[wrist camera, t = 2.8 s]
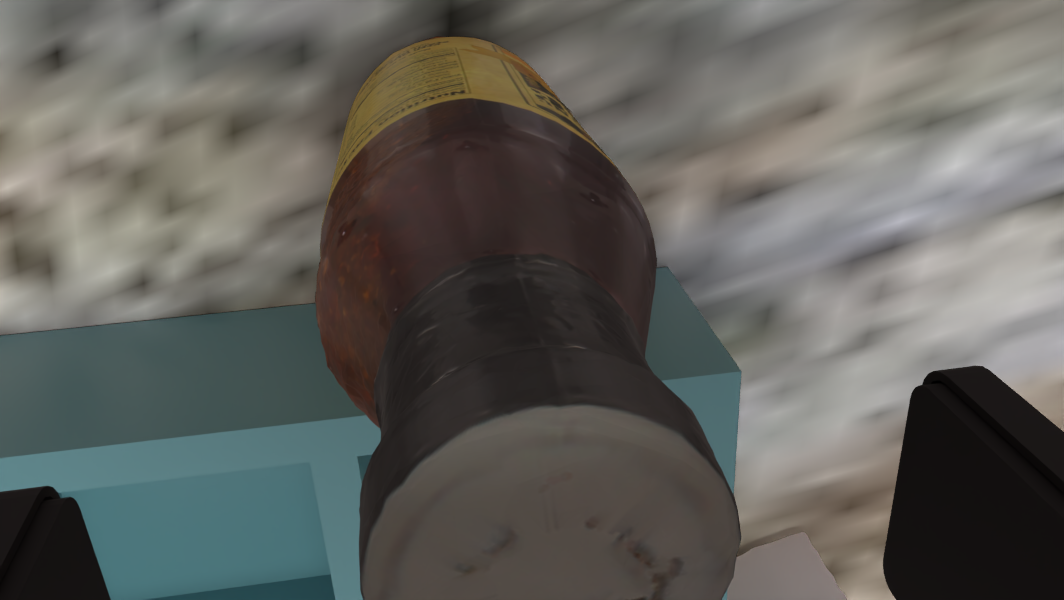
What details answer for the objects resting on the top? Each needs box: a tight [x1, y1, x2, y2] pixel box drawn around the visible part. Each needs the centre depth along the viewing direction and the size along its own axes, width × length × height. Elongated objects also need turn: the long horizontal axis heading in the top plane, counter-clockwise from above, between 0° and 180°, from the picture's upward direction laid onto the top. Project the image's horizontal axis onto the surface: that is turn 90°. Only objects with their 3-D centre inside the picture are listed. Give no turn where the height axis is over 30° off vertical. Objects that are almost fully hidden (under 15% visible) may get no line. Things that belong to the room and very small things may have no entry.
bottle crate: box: [0, 267, 741, 600], centre depth 28 cm, size 22×11×7 cm, turn 93°
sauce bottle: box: [315, 37, 741, 600], centre depth 18 cm, size 6×6×20 cm
